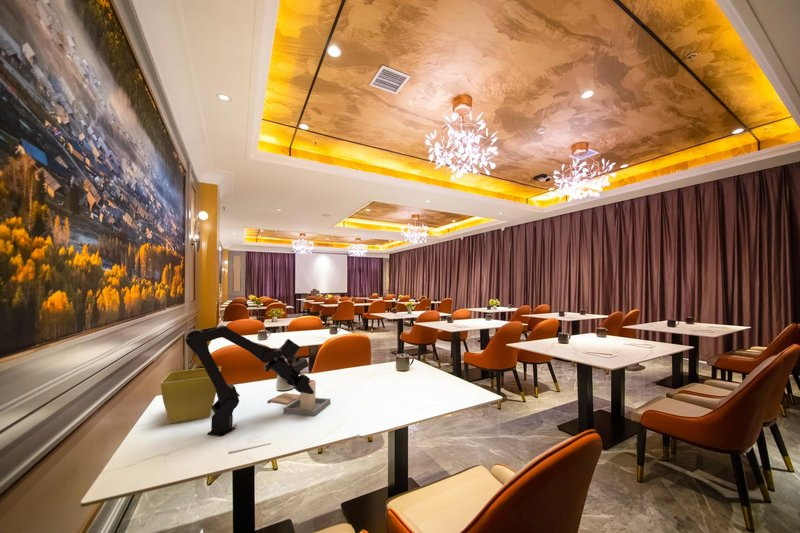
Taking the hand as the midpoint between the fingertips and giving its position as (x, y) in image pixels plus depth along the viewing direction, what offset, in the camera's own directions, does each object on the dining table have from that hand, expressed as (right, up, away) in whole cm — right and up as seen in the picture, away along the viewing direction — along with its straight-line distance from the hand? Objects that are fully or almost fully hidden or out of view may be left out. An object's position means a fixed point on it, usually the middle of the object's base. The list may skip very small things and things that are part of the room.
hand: (308, 390), depth 131 cm
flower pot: (-47, -8, -5) cm, 48 cm away
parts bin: (0, -8, -1) cm, 8 cm away
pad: (-14, -9, +11) cm, 20 cm away
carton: (0, -7, -1) cm, 7 cm away
